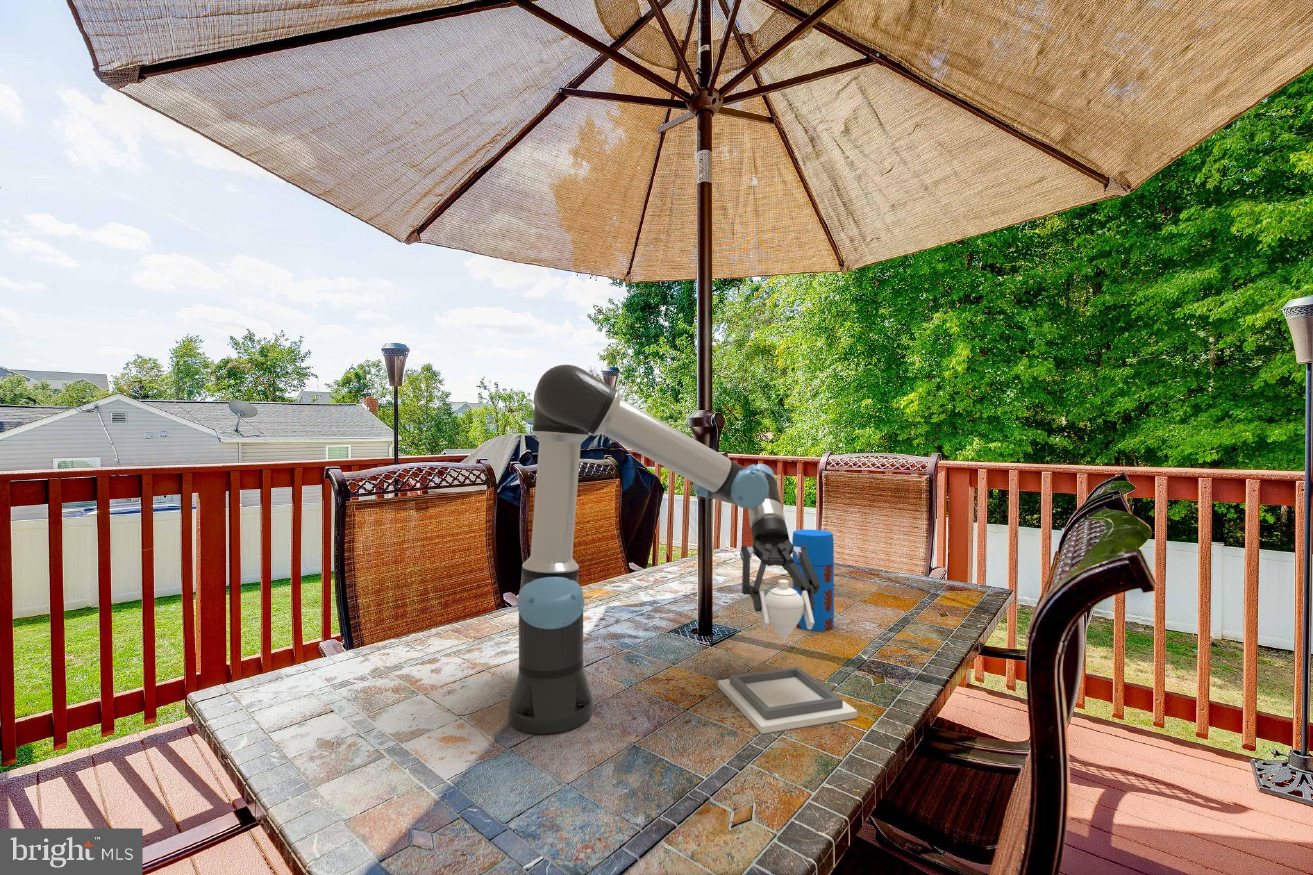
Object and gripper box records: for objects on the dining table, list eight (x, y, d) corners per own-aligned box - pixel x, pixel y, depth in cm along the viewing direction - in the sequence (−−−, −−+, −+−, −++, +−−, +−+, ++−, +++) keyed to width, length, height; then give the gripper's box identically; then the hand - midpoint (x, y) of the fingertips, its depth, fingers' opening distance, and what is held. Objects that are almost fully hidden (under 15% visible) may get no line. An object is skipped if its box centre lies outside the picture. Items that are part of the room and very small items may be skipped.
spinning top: (755, 643, 105) (755, 580, 105) (777, 633, 111) (777, 573, 111) (790, 654, 100) (790, 587, 100) (812, 643, 105) (811, 580, 105)
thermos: (784, 621, 152) (784, 531, 152) (815, 616, 156) (814, 528, 157) (811, 634, 142) (810, 537, 142) (842, 628, 146) (842, 534, 147)
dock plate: (761, 733, 93) (761, 717, 93) (717, 686, 112) (717, 672, 112) (857, 717, 99) (857, 702, 99) (800, 674, 117) (800, 662, 117)
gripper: (811, 535, 121) (838, 634, 105) (718, 536, 121) (731, 636, 104) (819, 514, 116) (848, 615, 100) (722, 515, 115) (735, 617, 99)
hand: (788, 626), depth 102 cm, fingers closed on spinning top, 8 cm apart
